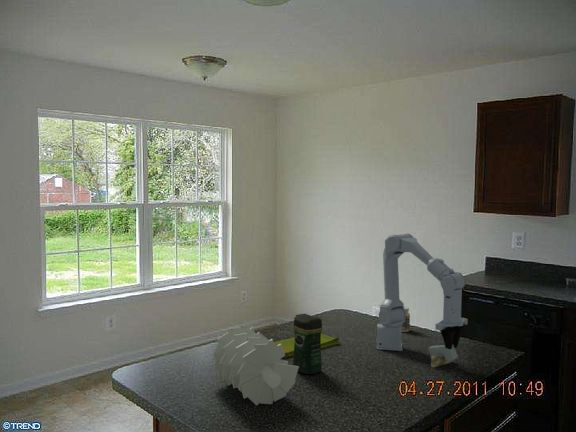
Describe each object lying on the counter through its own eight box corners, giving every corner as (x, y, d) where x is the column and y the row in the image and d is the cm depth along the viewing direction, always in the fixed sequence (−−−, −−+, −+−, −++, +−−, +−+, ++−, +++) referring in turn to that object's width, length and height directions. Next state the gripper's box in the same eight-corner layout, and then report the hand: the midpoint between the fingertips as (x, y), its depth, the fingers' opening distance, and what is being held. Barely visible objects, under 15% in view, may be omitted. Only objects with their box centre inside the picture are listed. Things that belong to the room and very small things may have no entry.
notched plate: (432, 360, 171) (428, 348, 172) (436, 358, 172) (432, 346, 173) (453, 359, 163) (449, 346, 163) (458, 357, 164) (453, 344, 165)
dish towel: (241, 352, 179) (241, 343, 179) (315, 335, 200) (315, 328, 200) (264, 365, 166) (264, 355, 166) (340, 345, 188) (340, 337, 188)
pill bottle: (409, 332, 204) (410, 309, 203) (395, 331, 205) (396, 308, 204) (409, 328, 209) (409, 306, 209) (395, 328, 211) (396, 305, 210)
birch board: (433, 367, 164) (433, 357, 164) (430, 366, 165) (431, 356, 165) (452, 361, 170) (452, 352, 170) (449, 360, 171) (449, 351, 171)
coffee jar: (325, 371, 159) (326, 316, 158) (307, 377, 155) (308, 320, 154) (306, 363, 167) (307, 310, 166) (288, 368, 162) (289, 313, 161)
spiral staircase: (259, 426, 131) (221, 388, 152) (308, 387, 138) (266, 356, 160) (234, 373, 125) (198, 342, 146) (287, 335, 133) (246, 311, 154)
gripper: (448, 313, 156) (447, 355, 157) (475, 308, 164) (474, 347, 165) (430, 309, 162) (429, 348, 163) (458, 304, 170) (457, 341, 171)
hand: (451, 347), depth 164 cm, fingers closed on notched plate, 2 cm apart
